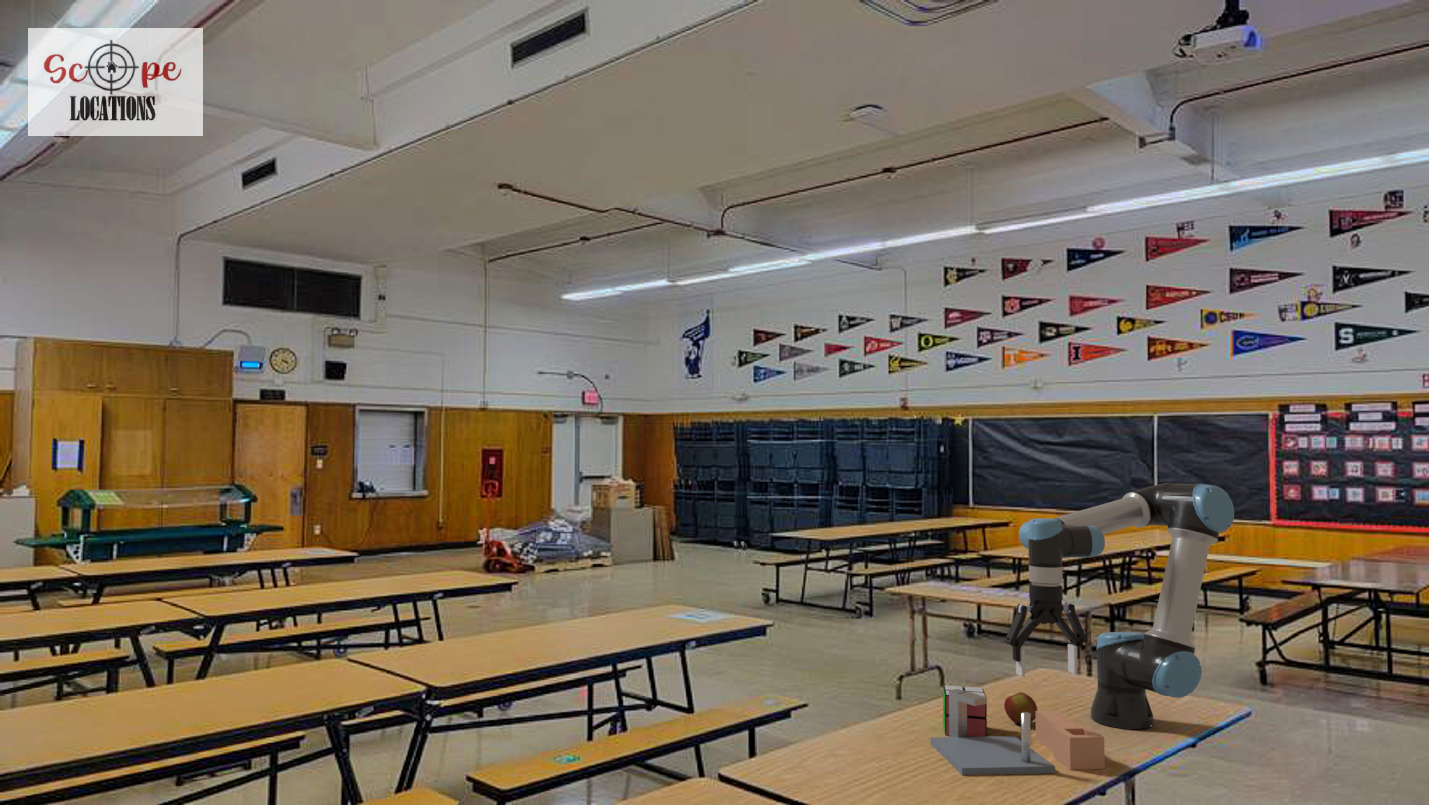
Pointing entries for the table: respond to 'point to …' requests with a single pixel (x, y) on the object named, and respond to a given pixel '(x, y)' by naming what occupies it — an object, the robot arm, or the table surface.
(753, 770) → the table surface
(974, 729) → the puzzle cube
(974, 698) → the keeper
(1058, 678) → the table surface
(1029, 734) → the peg
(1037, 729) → the tan socket bar
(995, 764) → the board
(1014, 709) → the apple
